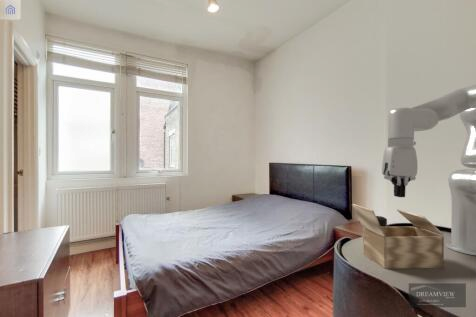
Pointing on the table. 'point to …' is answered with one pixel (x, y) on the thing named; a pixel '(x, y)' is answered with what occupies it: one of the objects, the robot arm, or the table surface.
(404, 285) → the table surface
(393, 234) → the carton
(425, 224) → the flap
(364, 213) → the flap
